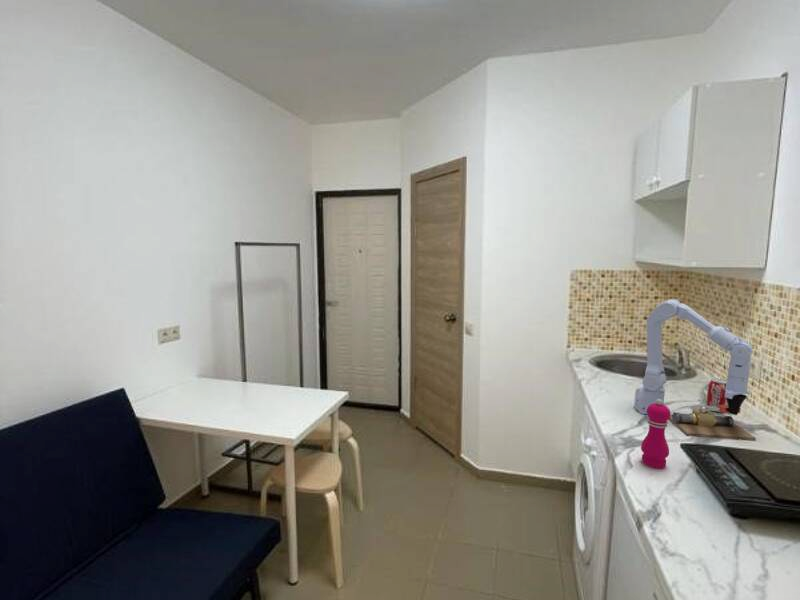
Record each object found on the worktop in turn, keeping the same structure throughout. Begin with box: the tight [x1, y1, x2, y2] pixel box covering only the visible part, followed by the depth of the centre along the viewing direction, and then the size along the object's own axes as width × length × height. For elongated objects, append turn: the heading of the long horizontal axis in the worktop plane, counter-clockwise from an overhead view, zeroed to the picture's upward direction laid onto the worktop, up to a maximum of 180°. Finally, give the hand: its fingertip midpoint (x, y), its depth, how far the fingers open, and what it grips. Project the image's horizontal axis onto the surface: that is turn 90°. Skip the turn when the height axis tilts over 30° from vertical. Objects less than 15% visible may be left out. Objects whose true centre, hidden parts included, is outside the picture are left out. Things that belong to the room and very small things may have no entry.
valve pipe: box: [672, 408, 735, 427], centre depth 154 cm, size 18×5×5 cm, turn 81°
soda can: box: [705, 377, 728, 413], centre depth 170 cm, size 7×7×12 cm
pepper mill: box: [640, 399, 672, 470], centre depth 128 cm, size 7×7×20 cm
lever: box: [698, 405, 742, 414], centre depth 154 cm, size 13×3×2 cm, turn 85°
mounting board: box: [668, 414, 756, 441], centre depth 154 cm, size 21×16×1 cm
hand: (733, 414), depth 151 cm, fingers closed
